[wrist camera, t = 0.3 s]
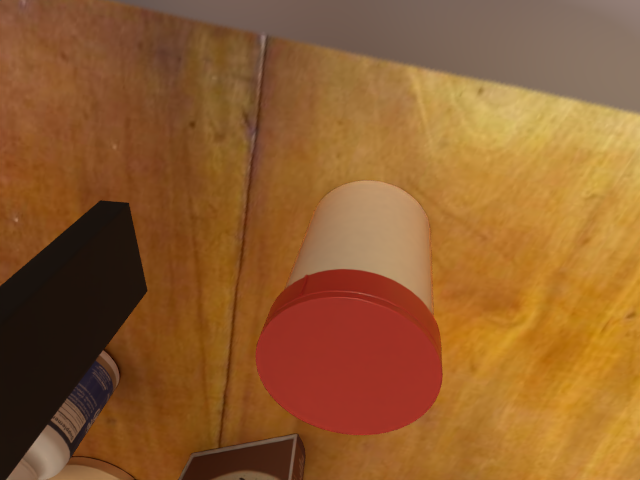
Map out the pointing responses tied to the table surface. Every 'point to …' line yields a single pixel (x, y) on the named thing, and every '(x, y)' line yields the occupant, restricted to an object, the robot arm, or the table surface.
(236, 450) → the food container
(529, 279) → the table surface
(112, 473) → the coaster
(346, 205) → the jar
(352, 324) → the jar lid
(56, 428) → the pill bottle
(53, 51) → the table surface
